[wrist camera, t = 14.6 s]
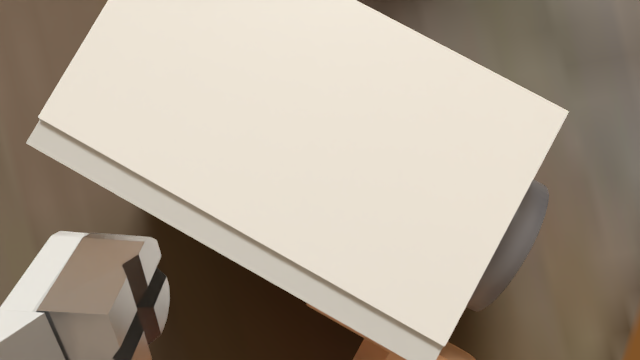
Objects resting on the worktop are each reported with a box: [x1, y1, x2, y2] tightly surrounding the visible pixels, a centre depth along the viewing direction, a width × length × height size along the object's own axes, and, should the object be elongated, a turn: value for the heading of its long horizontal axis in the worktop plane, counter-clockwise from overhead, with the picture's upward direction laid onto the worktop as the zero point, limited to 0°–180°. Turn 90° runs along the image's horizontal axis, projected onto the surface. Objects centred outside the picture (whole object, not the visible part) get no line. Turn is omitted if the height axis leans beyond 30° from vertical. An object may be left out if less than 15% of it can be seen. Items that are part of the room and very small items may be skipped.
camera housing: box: [26, 0, 569, 360], centre depth 26 cm, size 18×10×12 cm, turn 61°
